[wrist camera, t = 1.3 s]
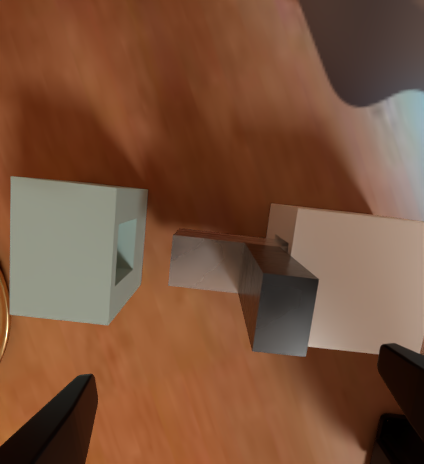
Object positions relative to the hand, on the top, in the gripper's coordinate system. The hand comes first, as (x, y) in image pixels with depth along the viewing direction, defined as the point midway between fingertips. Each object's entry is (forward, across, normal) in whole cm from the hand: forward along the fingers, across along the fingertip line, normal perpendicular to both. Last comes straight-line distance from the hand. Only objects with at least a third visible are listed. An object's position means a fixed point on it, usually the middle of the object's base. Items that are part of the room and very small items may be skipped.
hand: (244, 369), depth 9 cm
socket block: (+15, +7, -1) cm, 17 cm away
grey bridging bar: (+10, -5, +1) cm, 11 cm away
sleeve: (+13, -8, +2) cm, 15 cm away
